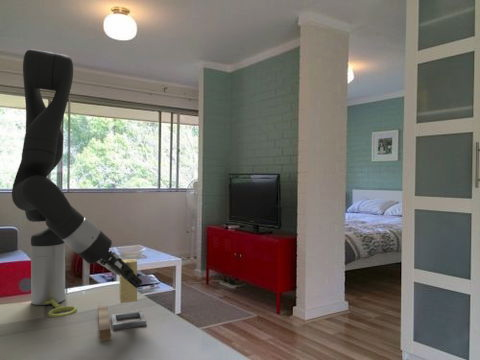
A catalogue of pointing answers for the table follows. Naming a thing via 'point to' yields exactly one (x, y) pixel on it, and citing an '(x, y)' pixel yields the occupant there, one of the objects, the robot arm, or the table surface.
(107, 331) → the brown square bar
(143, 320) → the keeper
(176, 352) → the table surface
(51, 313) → the key
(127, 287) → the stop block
